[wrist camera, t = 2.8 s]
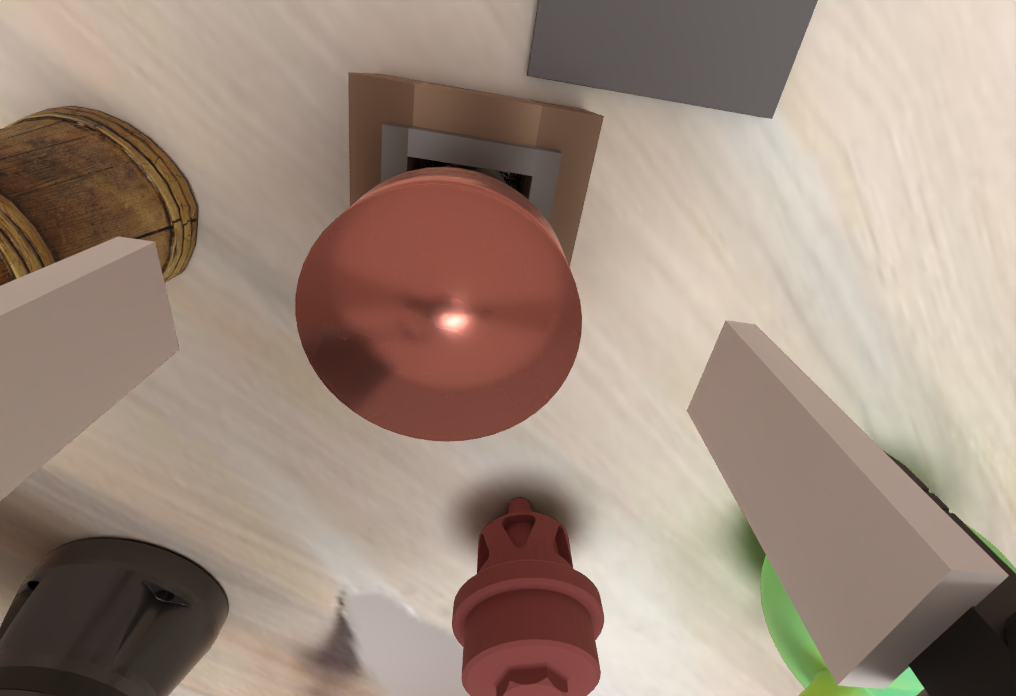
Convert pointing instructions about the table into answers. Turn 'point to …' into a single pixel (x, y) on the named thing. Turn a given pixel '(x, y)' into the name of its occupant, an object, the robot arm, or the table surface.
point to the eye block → (473, 141)
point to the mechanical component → (527, 612)
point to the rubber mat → (674, 48)
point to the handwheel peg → (440, 305)
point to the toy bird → (804, 653)
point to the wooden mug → (87, 192)
